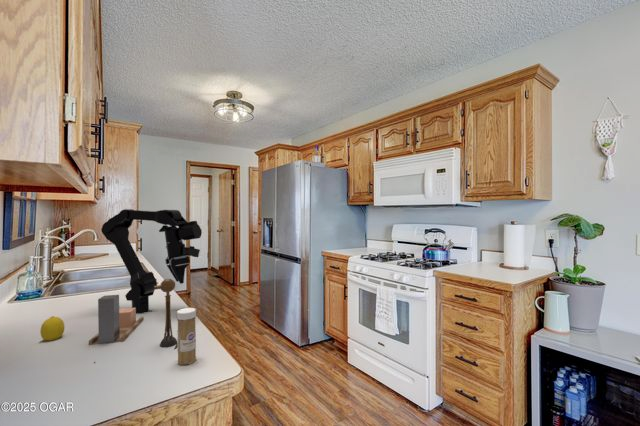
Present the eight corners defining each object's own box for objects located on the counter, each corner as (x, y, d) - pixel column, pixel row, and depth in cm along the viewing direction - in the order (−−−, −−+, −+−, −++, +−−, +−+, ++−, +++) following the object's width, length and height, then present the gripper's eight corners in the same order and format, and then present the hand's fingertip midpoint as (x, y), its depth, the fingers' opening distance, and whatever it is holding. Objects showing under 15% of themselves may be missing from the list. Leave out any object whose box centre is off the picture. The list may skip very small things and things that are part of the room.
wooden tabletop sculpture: (156, 354, 84) (155, 281, 84) (153, 348, 87) (152, 279, 87) (179, 348, 87) (178, 278, 87) (176, 343, 91) (175, 276, 91)
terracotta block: (119, 323, 105) (119, 309, 105) (135, 321, 106) (135, 307, 106) (113, 328, 100) (113, 313, 100) (130, 327, 101) (130, 312, 101)
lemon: (37, 344, 92) (36, 317, 92) (59, 337, 97) (59, 312, 97) (45, 347, 89) (45, 320, 89) (68, 340, 94) (67, 314, 94)
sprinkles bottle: (187, 366, 76) (186, 313, 77) (173, 363, 78) (172, 311, 78) (200, 358, 81) (199, 308, 81) (187, 356, 82) (186, 306, 82)
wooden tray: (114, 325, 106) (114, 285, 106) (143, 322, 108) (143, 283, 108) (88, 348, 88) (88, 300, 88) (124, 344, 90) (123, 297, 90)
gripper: (201, 237, 113) (207, 279, 113) (192, 239, 129) (197, 276, 129) (168, 242, 107) (174, 286, 107) (162, 243, 123) (168, 282, 122)
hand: (179, 282), depth 116 cm, fingers open, 9 cm apart
